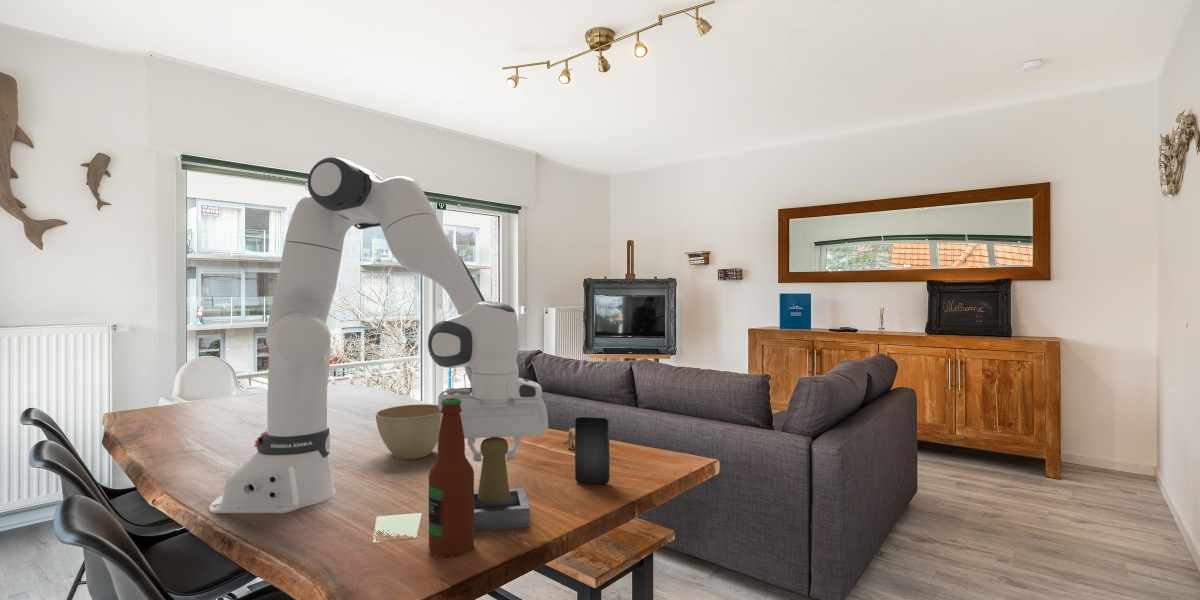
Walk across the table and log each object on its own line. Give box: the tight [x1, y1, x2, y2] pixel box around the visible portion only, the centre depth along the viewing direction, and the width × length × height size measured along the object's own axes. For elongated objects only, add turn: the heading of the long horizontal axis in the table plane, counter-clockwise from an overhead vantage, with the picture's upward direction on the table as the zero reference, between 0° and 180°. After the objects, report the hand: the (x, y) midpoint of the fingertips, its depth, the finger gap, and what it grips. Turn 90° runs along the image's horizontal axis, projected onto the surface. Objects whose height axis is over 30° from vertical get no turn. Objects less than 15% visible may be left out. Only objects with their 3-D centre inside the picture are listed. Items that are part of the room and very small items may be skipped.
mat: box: [372, 512, 423, 543], centre depth 102 cm, size 12×12×1 cm
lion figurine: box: [563, 427, 575, 450], centre depth 157 cm, size 12×4×7 cm, turn 44°
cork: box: [477, 437, 510, 502], centre depth 107 cm, size 6×6×11 cm
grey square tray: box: [474, 487, 531, 532], centre depth 108 cm, size 11×11×4 cm
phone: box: [574, 415, 611, 486], centre depth 128 cm, size 8×1×15 cm, turn 78°
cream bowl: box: [375, 403, 442, 460], centre depth 151 cm, size 18×18×12 cm
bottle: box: [428, 398, 475, 558], centre depth 94 cm, size 7×7×25 cm
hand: (494, 460), depth 107 cm, fingers closed on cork, 5 cm apart
